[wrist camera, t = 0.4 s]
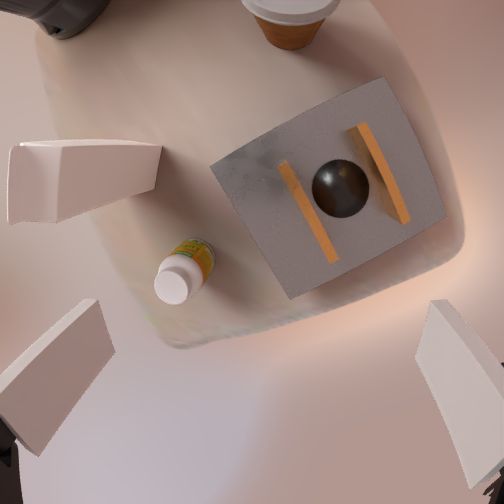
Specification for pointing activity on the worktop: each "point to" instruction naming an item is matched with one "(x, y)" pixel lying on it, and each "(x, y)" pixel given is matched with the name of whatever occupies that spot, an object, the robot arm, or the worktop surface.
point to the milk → (76, 176)
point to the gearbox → (332, 187)
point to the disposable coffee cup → (290, 19)
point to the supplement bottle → (184, 271)
